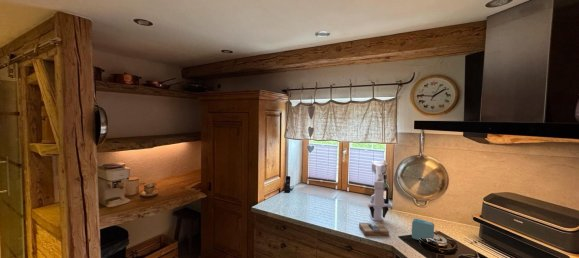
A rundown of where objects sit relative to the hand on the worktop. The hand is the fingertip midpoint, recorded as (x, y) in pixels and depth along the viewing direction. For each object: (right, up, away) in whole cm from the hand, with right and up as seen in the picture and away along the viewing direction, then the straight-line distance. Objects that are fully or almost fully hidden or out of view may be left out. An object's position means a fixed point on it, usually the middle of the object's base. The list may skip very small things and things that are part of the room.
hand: (378, 217), depth 159 cm
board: (-3, -9, -1) cm, 10 cm away
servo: (-3, -10, -1) cm, 10 cm away
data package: (+25, -11, -10) cm, 29 cm away
